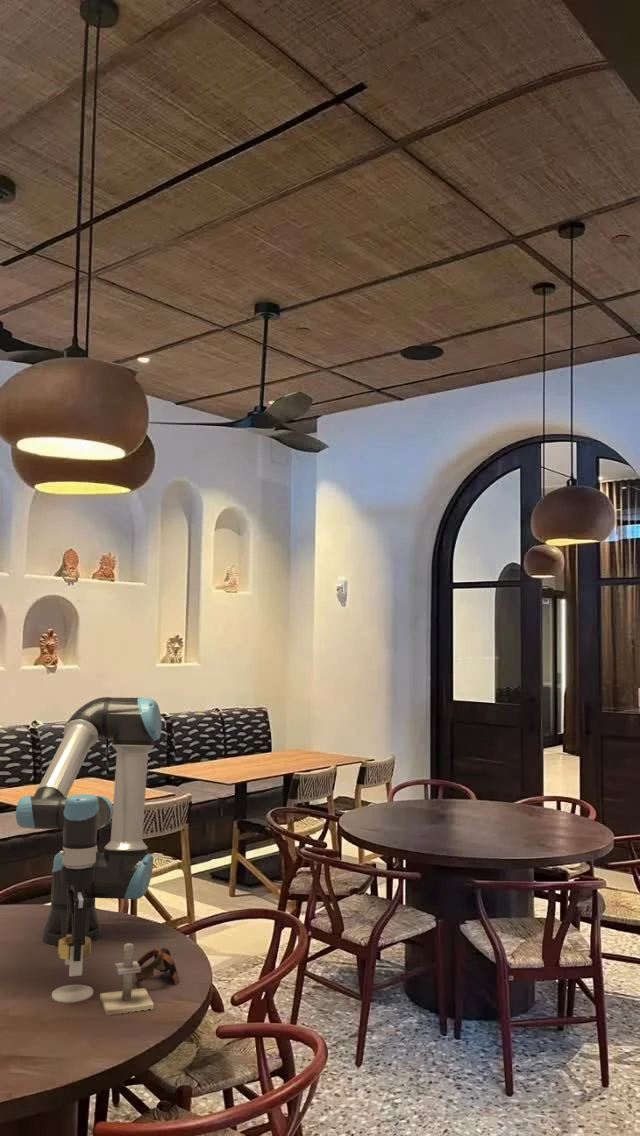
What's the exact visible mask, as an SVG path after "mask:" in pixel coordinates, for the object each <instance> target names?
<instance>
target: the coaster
mask: <svg viewBox="0 0 640 1136" xmlns="http://www.w3.org/2000/svg"><path fill="white" fill-rule="evenodd" d="M92 996H94V989H93V987H91V986H89V985H86V984H68V985H64V986H63V985H62V986H60V987H57V988H56V989H54V990H53V991H52V992H51V999H52V1000H53V1001H55V1002H58V1003H61V1004H63V1003H64V1004H72V1003H80V1002H83V1001H86V1000H88V999H90V998H92Z"/></svg>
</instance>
